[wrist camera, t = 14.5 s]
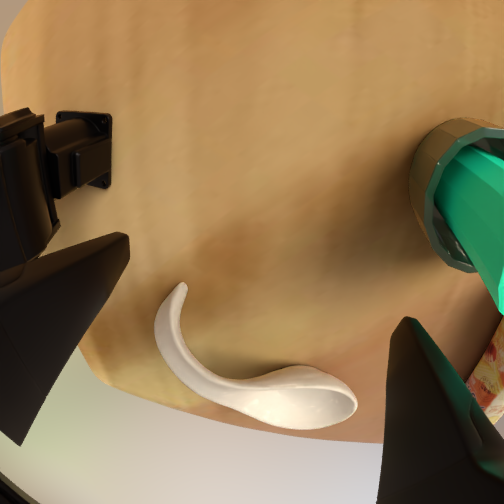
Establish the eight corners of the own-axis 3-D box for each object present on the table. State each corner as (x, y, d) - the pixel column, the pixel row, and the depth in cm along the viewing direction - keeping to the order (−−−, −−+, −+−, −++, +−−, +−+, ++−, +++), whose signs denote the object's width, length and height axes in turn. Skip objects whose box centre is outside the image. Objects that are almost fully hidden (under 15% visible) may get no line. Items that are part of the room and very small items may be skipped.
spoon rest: (377, 383, 30) (378, 439, 24) (304, 415, 36) (297, 462, 30) (200, 255, 25) (163, 312, 19) (149, 318, 32) (118, 366, 26)
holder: (388, 220, 20) (399, 249, 17) (433, 94, 15) (457, 99, 11) (484, 257, 19) (502, 286, 16) (530, 152, 14) (560, 170, 11)
